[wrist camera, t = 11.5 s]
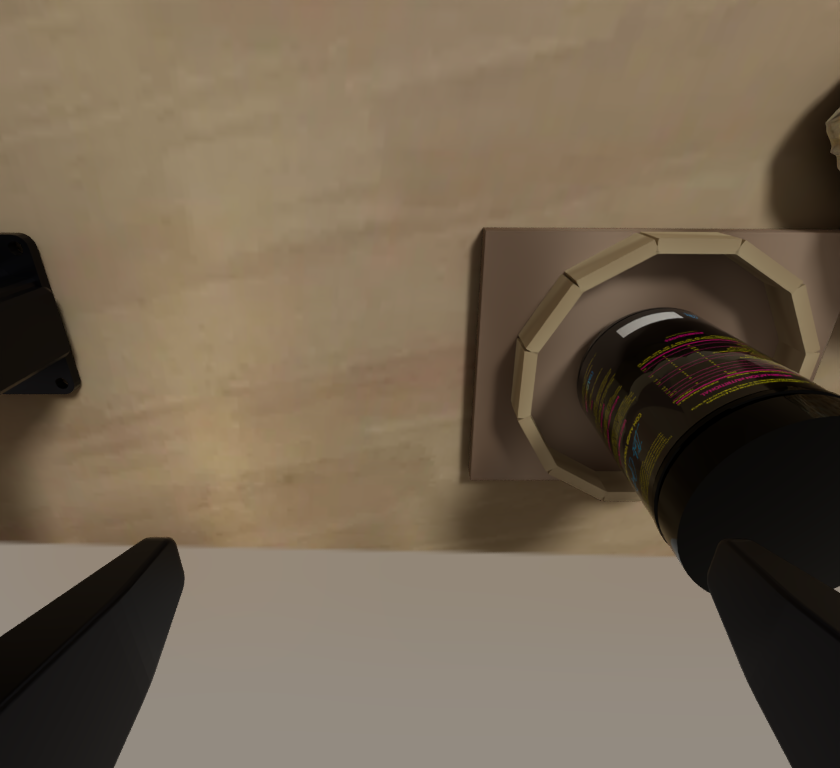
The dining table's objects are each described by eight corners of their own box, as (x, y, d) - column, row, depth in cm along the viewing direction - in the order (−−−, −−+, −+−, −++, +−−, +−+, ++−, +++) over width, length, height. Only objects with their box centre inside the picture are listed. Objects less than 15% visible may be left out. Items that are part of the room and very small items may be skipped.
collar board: (468, 469, 23) (473, 501, 21) (483, 227, 18) (491, 237, 16) (763, 470, 23) (796, 501, 21) (853, 229, 18) (907, 239, 16)
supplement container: (596, 451, 22) (705, 631, 14) (549, 341, 19) (647, 478, 11) (729, 398, 21) (935, 558, 12) (696, 274, 18) (921, 372, 10)
